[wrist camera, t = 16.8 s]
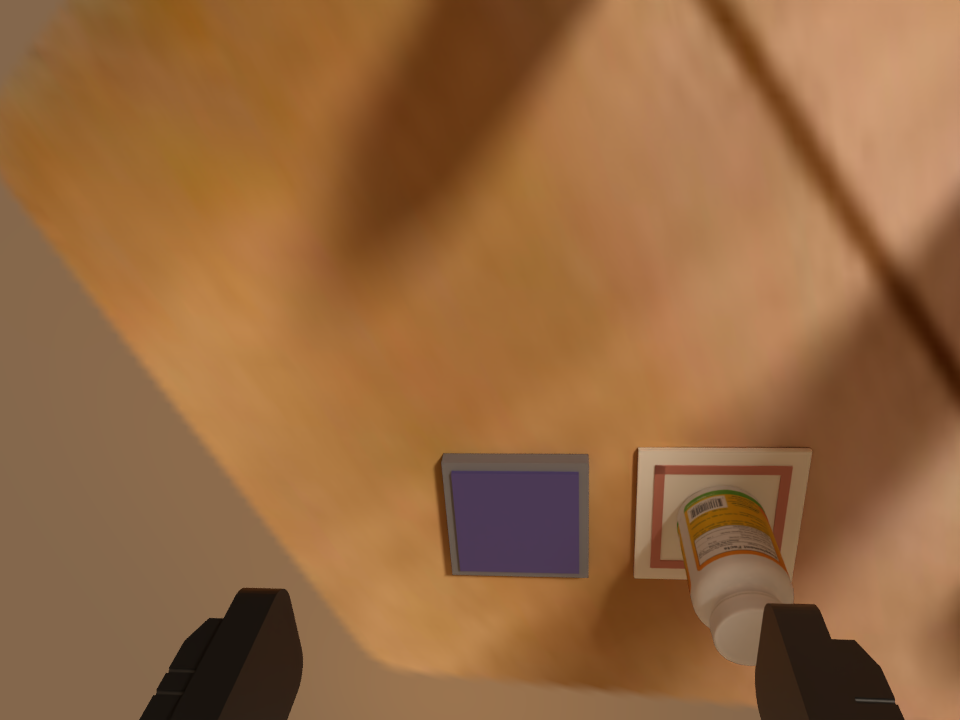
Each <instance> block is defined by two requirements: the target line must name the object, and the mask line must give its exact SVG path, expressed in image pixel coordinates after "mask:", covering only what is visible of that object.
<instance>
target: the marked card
mask: <svg viewBox="0 0 960 720" xmlns="http://www.w3.org/2000/svg"><path fill="white" fill-rule="evenodd" d="M811 457H812V450H811V448H638V469H637V496H636V522H635V549H634V578H640V579H683V580H687V576H686V571H685V566H684V561H683V556H682V552H681V547H680V542H679V537H678V533H677V515H678V512H679V510H680V508H681V506H682V505H683V503H684V502H685V501H686V500H687V499H688V498H689V497H690V496H692V495H693V494H695V493H697V492H699V491H700V490H703V489H706V488H710V487H715V486H731V487H736V488H739V489H742V490H744V491H746V492H748V493H750V494H751V495H753V496H754V497H755V498H756V499H757V500H758V501H759V502H760V504H761V505H762V507H763V509H764V511H765V514H766V516H767V518H768V521H769V524H770V526H771V529H772V532H773V534H774V537H775V540H776V543H777V545H778V548H779V550H780V553H781V556H782V558H783V561H784V564H785V566H786V569H787V572H788V574H789V577H790V580H791V582H792V577H793V571H794V564H795V558H796V552H797V545H798V539H799V533H800V527H801V520H802V514H803V508H804V501H805V495H806V489H807V482H808V476H809V470H810V464H811Z"/></svg>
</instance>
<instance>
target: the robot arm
mask: <svg viewBox="0 0 960 720" xmlns="http://www.w3.org/2000/svg"><path fill="white" fill-rule="evenodd" d="M302 655H303V654H302V648H301V644H300V639H299V635H298V631H297V626H296V622H295V618H294V613H293V609H292V604H291V600H290V596H289V593H288V592H287V591H286V590H285V589H270V588H242V589H241V590H240V591H239V592H238V593H237V594H236V596H235V598H234V600H233V602H232V604H231V605H230V607H229V609H228V611H227V613H226V615H225V617H224V618H223V619H222V618H209V619H208V620H207V621H205V622H204V623H203V624H202V625H201V626H200V627H199V628H198V629H197V630H196V631H195V632H194V633H193V634H191V635H190V636H189V637H188V638H187V639H186V640H185V641H184V643H183V644H182V646H181V648H180V650H179V652H178V653H177V655H176V657H175V658H174V660H173V662H172V664H171V665H170V667H169V673H166V674H165V676H164V678H163V679H162V681H161V683H160V685H159V686H158V688H157V693H156V695H153V697H152V699H151V700H150V702H149V704H148V705H147V707H146V709H145V711H144V712H143V714H142V716H141V718H140V719H139V720H287V719H288V716H289V713H290V711H291V708H292V705H293V703H294V700H295V697H296V694H297V692H298V689H299V686H300V682H301V676H302V668H303V656H302ZM755 688H756V698H757V704H758V709H759V713H760V717H761V720H904V717H903V715H902V713H901V711H900V709H899V706H898V705H896V704H895V698H894V695H893V693H892V691H891V689H890V687H889V684H888V682H887V680H886V678H885V676H884V673H883V671H882V669H881V667H880V666H879V665H878V664H877V663H876V662H875V661H874V660H873V659H872V658H871V657H870V656H869V655H868V654H867V653H866V651H865V650H864V649H863V648H862V647H861V646H860V645H859V644H858V643H857V642H856V641H855V640H837V639H831V637H830V634H829V632H828V629H827V627H826V624H825V622H824V619H823V617H822V614H821V612H820V610H819V609H818V607H817V606H816V605H814V604H780V603H767V604H766V605H765V607H764V612H763V618H762V625H761V633H760V640H759V647H758V654H757V661H756V669H755Z"/></svg>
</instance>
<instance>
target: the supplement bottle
mask: <svg viewBox="0 0 960 720" xmlns="http://www.w3.org/2000/svg"><path fill="white" fill-rule="evenodd" d="M677 533H678V537H679V542H680V547H681V552H682V556H683V561H684V566H685V571H686V576H687V581H688V586H689V592H690V596H691V600H692V604H693V607H694V610H695V612H696V614H697V616H698V617H699V619H700V620H701V621H702V622H703V623H704V624H705V625H706V626H707V627H709V628H710V631H711V634H712V637H713V641H714V645H715V647H716V649H717V651H718V652H719V653H720V654H721V655H722V656H723V657H724V658H726V659H727V660H729V661H731V662H734V663H736V664H740V665H747V666H756V661H757V654H758V647H759V640H760V633H761V625H762V618H763V612H764V607H765V605H766V604H767V603H780V604H793V602H794V590H793V586H792V583H791V580H790V577H789V574H788V572H787V569H786V566H785V564H784V561H783V558H782V556H781V553H780V550H779V548H778V545H777V543H776V540H775V537H774V534H773V532H772V529H771V526H770V524H769V521H768V518H767V516H766V514H765V511H764V509H763V507H762V505H761V504H760V502H759V501H758V500H757V499H756V498H755V497H754V496H753V495H751V494H750V493H748V492H746V491H744V490H742V489H739V488H736V487H731V486H715V487H710V488H706V489H703V490H700V491H699V492H697V493H695V494H693V495H692V496H690V497H689V498H688V499H687V500H686V501H685V502H684V503H683V505H682V506H681V508H680V510H679V512H678V515H677Z"/></svg>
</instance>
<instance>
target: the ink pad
mask: <svg viewBox="0 0 960 720" xmlns="http://www.w3.org/2000/svg"><path fill="white" fill-rule="evenodd" d="M441 465H442V475H443V485H444V495H445V505H446V514H447V524H448V534H449V544H450V554H451V564H452V574H453V575H486V576H529V577H572V578H588V558H589V458H588V454H443V458H442V462H441Z"/></svg>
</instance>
